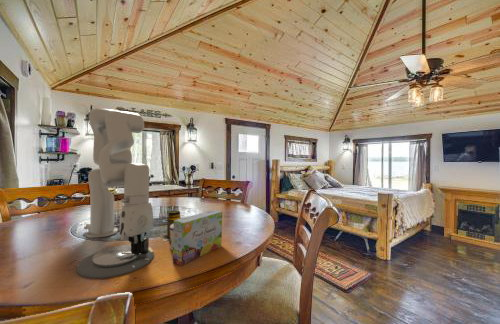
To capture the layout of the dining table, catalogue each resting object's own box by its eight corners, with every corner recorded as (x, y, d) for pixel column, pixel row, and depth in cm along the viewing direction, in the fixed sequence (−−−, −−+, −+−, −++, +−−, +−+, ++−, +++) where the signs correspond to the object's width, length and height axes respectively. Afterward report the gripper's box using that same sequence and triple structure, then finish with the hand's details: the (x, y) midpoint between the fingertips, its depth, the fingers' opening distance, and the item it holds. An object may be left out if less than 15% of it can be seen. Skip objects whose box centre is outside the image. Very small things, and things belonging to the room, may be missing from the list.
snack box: (182, 266, 74) (183, 222, 74) (171, 262, 77) (172, 220, 77) (222, 246, 92) (222, 210, 92) (212, 243, 95) (212, 209, 95)
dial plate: (57, 275, 67) (57, 271, 67) (112, 246, 90) (112, 243, 90) (127, 280, 65) (127, 276, 65) (165, 249, 88) (165, 246, 88)
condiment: (183, 238, 101) (183, 212, 101) (164, 241, 96) (164, 214, 96) (178, 233, 107) (179, 209, 107) (160, 236, 102) (160, 211, 102)
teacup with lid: (173, 242, 95) (173, 216, 94) (194, 243, 95) (194, 216, 95) (162, 254, 83) (163, 224, 82) (186, 255, 83) (187, 224, 83)
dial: (81, 267, 69) (81, 247, 69) (108, 248, 84) (109, 232, 84) (138, 266, 70) (139, 247, 70) (155, 248, 85) (156, 231, 85)
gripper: (123, 204, 66) (122, 265, 66) (162, 197, 79) (161, 247, 79) (107, 202, 69) (107, 260, 69) (147, 196, 82) (147, 244, 82)
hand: (136, 253), depth 74 cm, fingers closed
